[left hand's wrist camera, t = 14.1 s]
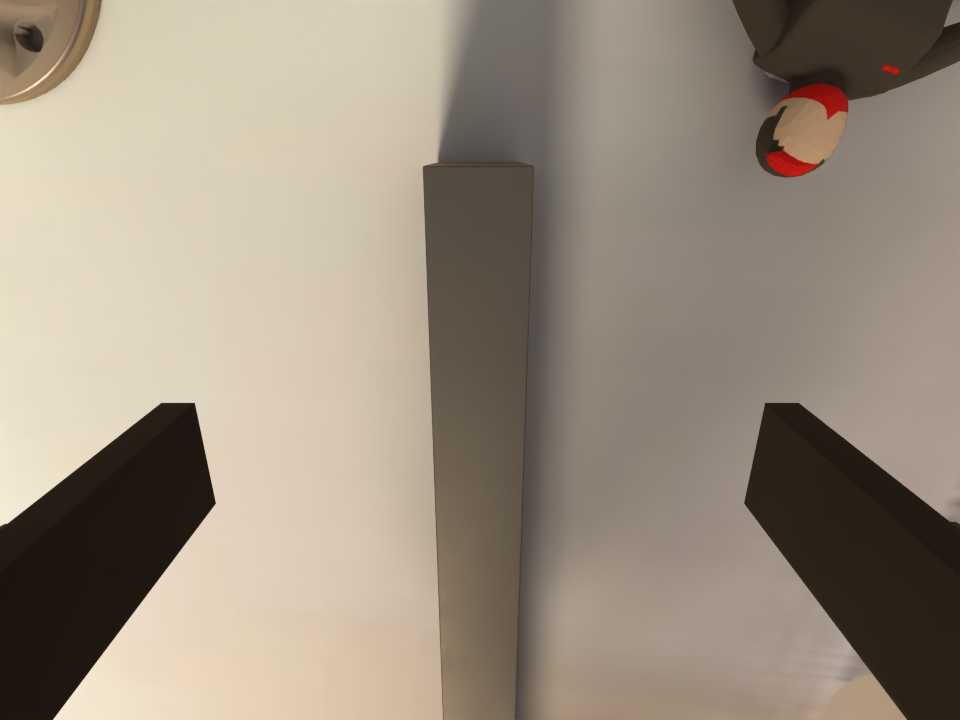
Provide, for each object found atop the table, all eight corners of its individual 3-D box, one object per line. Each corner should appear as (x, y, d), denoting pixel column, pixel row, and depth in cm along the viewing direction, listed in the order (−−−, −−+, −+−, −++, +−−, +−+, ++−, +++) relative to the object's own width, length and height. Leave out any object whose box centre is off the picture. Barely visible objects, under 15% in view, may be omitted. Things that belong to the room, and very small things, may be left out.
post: (436, 162, 32) (422, 165, 24) (520, 162, 32) (534, 165, 24) (455, 849, 56) (452, 962, 48) (503, 849, 56) (507, 962, 48)
